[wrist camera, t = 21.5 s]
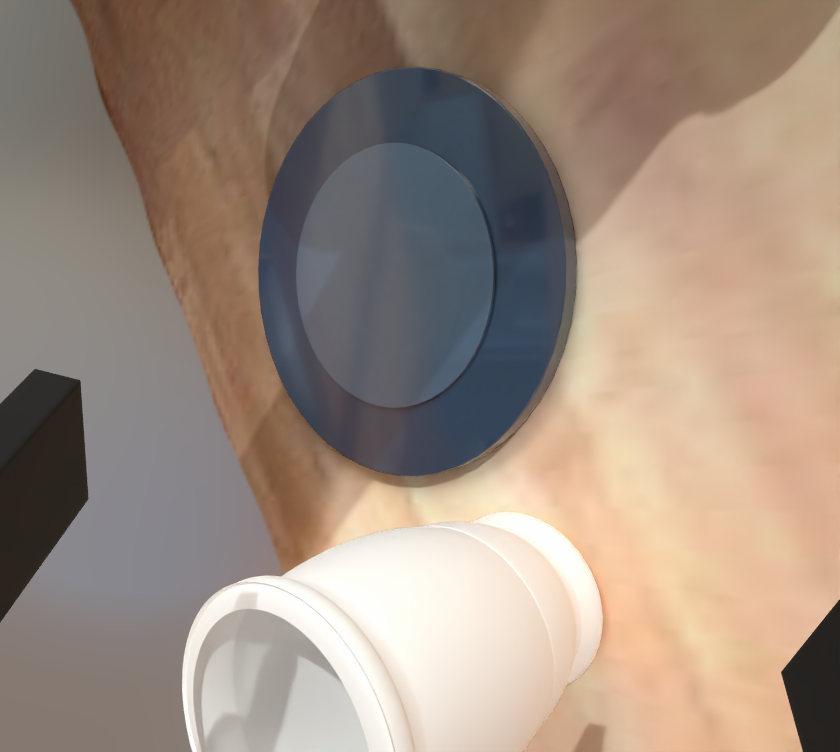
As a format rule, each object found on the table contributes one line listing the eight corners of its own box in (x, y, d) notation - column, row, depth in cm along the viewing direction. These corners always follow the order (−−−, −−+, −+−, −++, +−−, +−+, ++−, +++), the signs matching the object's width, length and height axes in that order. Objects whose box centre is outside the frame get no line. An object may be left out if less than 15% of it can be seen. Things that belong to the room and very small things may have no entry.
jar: (477, 719, 39) (230, 902, 27) (407, 521, 41) (148, 613, 29) (667, 694, 32) (448, 921, 21) (574, 459, 34) (325, 547, 22)
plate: (233, 204, 47) (216, 203, 46) (475, -22, 35) (459, -30, 34) (339, 517, 44) (324, 522, 43) (650, 388, 32) (637, 391, 31)
